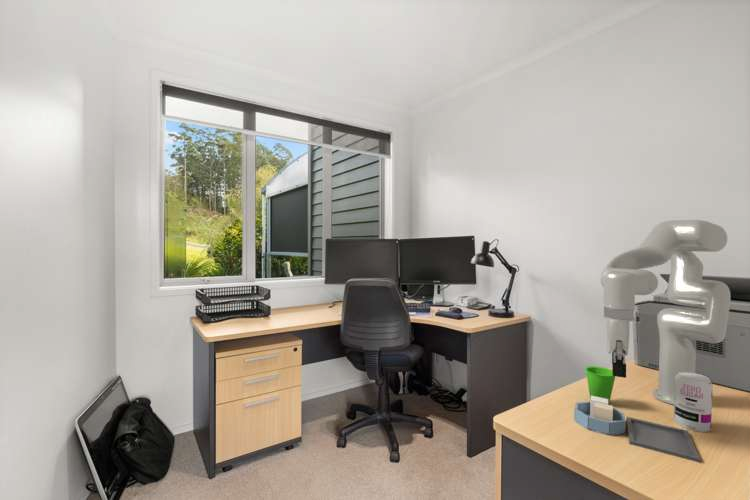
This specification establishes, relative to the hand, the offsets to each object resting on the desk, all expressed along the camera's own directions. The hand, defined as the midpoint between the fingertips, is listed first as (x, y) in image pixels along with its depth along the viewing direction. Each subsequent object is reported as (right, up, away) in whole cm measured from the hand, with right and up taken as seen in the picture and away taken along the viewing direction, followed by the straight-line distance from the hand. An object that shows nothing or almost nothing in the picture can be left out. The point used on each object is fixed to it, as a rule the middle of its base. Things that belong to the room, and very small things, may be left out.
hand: (618, 370), depth 105 cm
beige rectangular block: (-7, -15, -3) cm, 17 cm away
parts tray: (+6, -16, -8) cm, 19 cm away
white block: (-5, -15, +1) cm, 16 cm away
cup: (+3, -16, +14) cm, 21 cm away
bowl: (-6, -16, 0) cm, 17 cm away
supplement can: (+21, -17, 0) cm, 27 cm away
